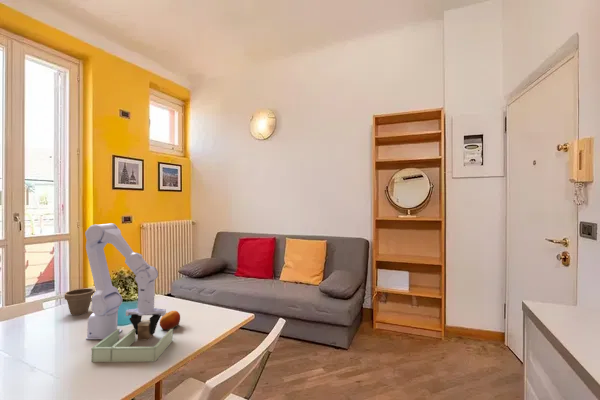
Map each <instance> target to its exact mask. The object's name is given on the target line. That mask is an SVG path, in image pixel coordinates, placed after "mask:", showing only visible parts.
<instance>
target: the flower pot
mask: <svg viewBox="0 0 600 400" xmlns="http://www.w3.org/2000/svg"><path fill="white" fill-rule="evenodd" d="M95 292H96V289H94V288H89V287H88V288H78V289H73V290H69V291H67V292H65V293H64V300H66V302H67V305H68V310H69V314H70V315H73V316H77V315H78V316H79V315H83V314H86V313H88V311H89V309H90V305H91V303H92V299H91V295H92V294H93V293H95Z"/></svg>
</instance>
